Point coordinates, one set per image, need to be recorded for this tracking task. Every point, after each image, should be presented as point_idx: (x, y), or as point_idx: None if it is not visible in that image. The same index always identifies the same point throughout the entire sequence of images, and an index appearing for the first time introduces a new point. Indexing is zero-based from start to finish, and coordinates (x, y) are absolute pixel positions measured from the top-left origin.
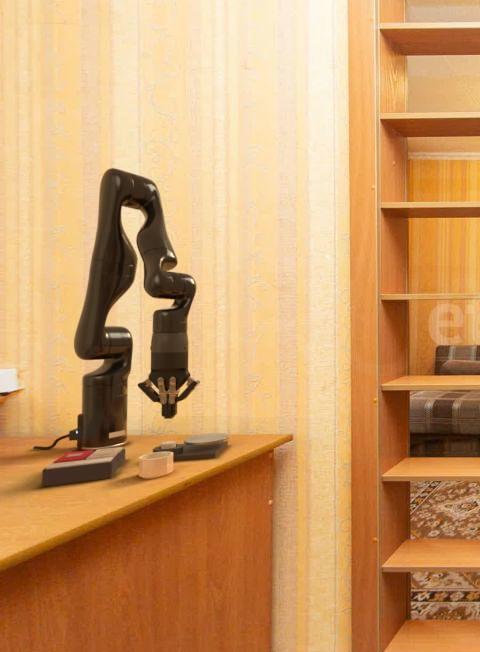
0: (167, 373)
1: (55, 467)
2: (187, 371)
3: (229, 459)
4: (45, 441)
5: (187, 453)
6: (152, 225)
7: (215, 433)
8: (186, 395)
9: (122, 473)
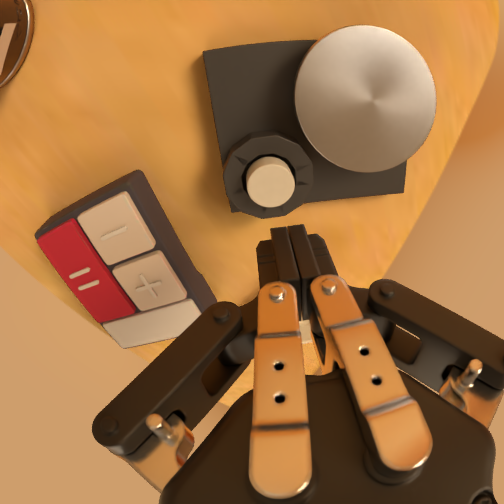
0: None
1: (133, 345)
2: (478, 485)
3: (426, 200)
4: None
5: (330, 182)
6: None
7: (382, 34)
8: (413, 346)
9: (215, 271)
